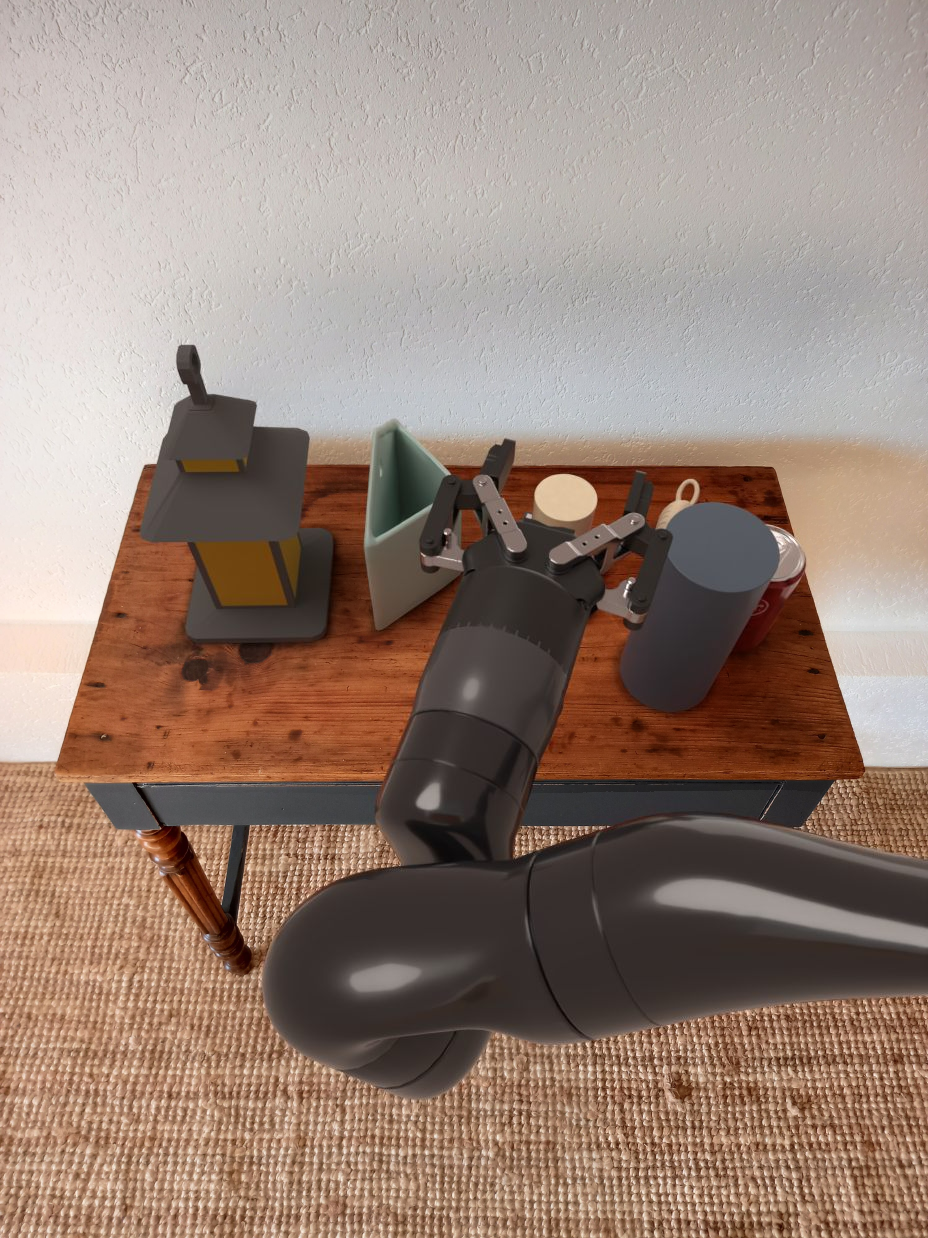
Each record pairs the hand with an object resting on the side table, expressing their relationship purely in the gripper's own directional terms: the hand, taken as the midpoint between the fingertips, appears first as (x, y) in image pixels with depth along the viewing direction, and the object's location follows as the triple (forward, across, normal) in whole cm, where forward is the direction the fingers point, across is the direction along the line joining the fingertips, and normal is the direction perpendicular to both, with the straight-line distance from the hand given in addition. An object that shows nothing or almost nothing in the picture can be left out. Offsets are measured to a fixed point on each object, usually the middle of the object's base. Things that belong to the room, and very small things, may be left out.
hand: (573, 464), depth 51 cm
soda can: (+14, -17, +32) cm, 39 cm away
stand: (+7, -12, +32) cm, 34 cm away
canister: (+15, +2, +29) cm, 33 cm away
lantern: (+3, +30, +32) cm, 44 cm away
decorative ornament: (+24, -9, +32) cm, 41 cm away
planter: (+10, +15, +32) cm, 37 cm away
